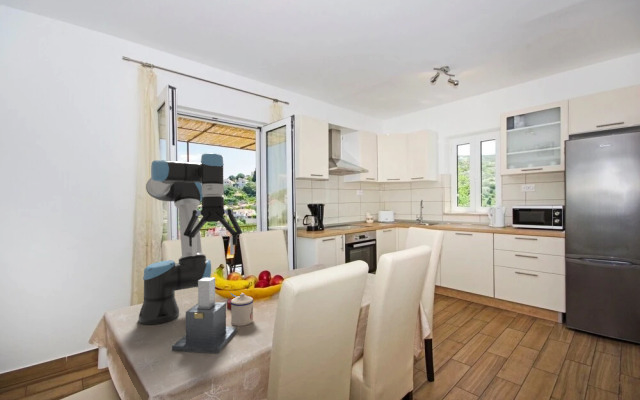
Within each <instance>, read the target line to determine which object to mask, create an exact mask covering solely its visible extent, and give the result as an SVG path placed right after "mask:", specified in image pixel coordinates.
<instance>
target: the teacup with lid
mask: <svg viewBox="0 0 640 400" xmlns="http://www.w3.org/2000/svg"><path fill="white" fill-rule="evenodd" d="M230 310H231V311H230V312H231V315H230V316H231V318H230V320H231V324H232V325H233V326H235V327H236V326H238V327H242V326H248V325H249V324H252V322H253V321H254V298H253V297H252V296H248V295H246V294H245V293H244V292H241V294H240V296H238V297H236V298H233V299H232V300H231V309H230Z"/></svg>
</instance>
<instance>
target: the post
mask: <svg viewBox="0 0 640 400" xmlns="http://www.w3.org/2000/svg"><path fill="white" fill-rule="evenodd" d="M197 298H198V299H197V304H198V309H200V310H211V309H212V308H213V307H214V306H215V302H216V277H210V278H206V277H204V278H202V279H200V280H198V287H197Z"/></svg>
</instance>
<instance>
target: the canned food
mask: <svg viewBox="0 0 640 400" xmlns="http://www.w3.org/2000/svg"><path fill="white" fill-rule="evenodd" d="M230 295H231V296H232V297H235V298H236V297H238V296H236V295H234V294H232V293H230ZM230 298H231V297H230ZM230 298H228V299H227V300H226V309H228V308H229V309H228V310H231V300H232V299H230Z"/></svg>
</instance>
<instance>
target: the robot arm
mask: <svg viewBox="0 0 640 400" xmlns="http://www.w3.org/2000/svg"><path fill="white" fill-rule="evenodd" d="M145 190H146V193H147V195H150V196H151V197H152V198H153V199H155V200H159V201H161V202H173V204H174V207H176V208H177V209H178V222H179V235H180V236H179V237H180V248H181V250H180V251H181V256H180V257H179V258H178V262H177V263H176V262H175V260H171V259H168V260H162V261H157V262H153V263H151V264H149V265H146V267H144V270H143V277H142V278H143V302H142V306H141V308H140V312H139V314H138V323H139V324H141V325H159V324H163V323H164V324H165V323H167V322H170V321H173V320H175V319H177V318H178V317H179V315H180V308H179V305H178V303H177V301H176V298H175V297H176V295H175V293H176V291H182V290H188V289H193V288H198V280H200V279H202V278H204V277H206V278H211V275H212V263H211V260H210V259H207V256H206V254H204V253H203V251H202V241H201V229H203V228H202V227H204V225H205V224H206V223H211V222H213V223H218V222H219V223H221V225H222V226H223V227H224V228H225V229H226V230H227V231H228V232H229V234H230V237H229V253H230V254H229V255H230V256H233V255H235V254H236V253H235V246H237V244H238V235H241V234H243V231H242V229H241V226H240V225H239V223H238V221H237V219H236V217H235V215H234V210H233V209H232V208H229V209H225V204H224V203H225V201H224V200H225V198H224V192H225V191H224V158H223V156H222V154H220V153H211V152H209V153H208V152H206V153H203V154H201V158H200V163H199V162H198V163H197V162H187V161H185V162H184V161H174V160H164V159H163V160H158V159H157V160H153V161H152V162H151V166H150V178H149V179H148V180H147V182H146V183H145ZM200 204H201V210H198V207H199V205H200ZM200 215H201V216H202V218H201V219H200V220H199V217H200ZM225 215H226V216H228V219H229V220H230V222H231V224H232V226H233V227H232V226H231V224H229V223H228V221H227V220H226V218H225V217H224V216H225Z"/></svg>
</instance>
